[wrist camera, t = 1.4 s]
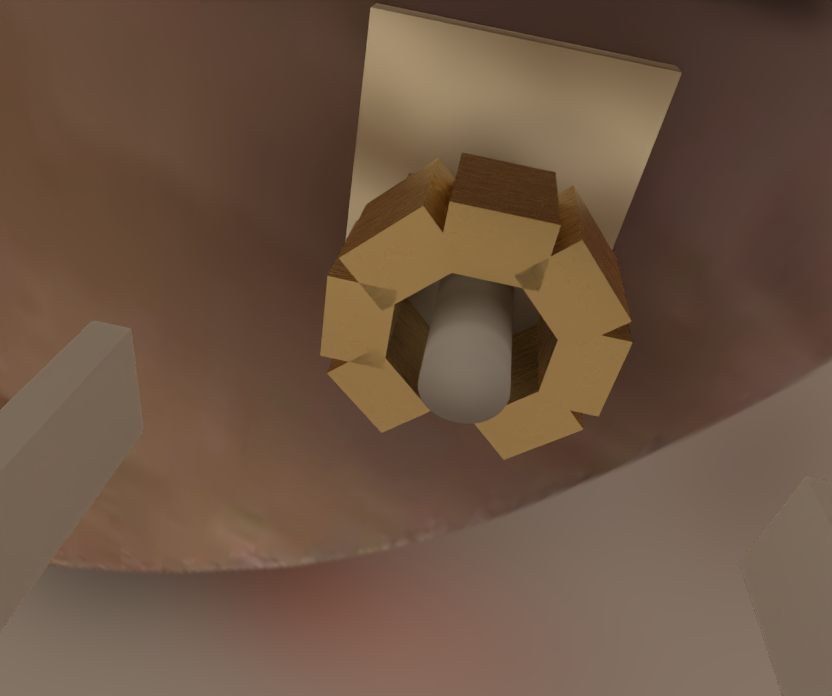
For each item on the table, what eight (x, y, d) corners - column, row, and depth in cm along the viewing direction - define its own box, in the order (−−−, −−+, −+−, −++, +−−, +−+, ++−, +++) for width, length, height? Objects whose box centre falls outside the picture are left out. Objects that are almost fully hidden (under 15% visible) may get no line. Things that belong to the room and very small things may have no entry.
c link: (366, 131, 15) (336, 176, 13) (651, 192, 15) (675, 249, 13) (340, 352, 19) (314, 418, 17) (566, 401, 19) (571, 475, 17)
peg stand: (376, 2, 21) (237, 107, 11) (676, 65, 21) (815, 230, 11) (346, 265, 27) (239, 490, 17) (579, 316, 27) (611, 573, 17)
